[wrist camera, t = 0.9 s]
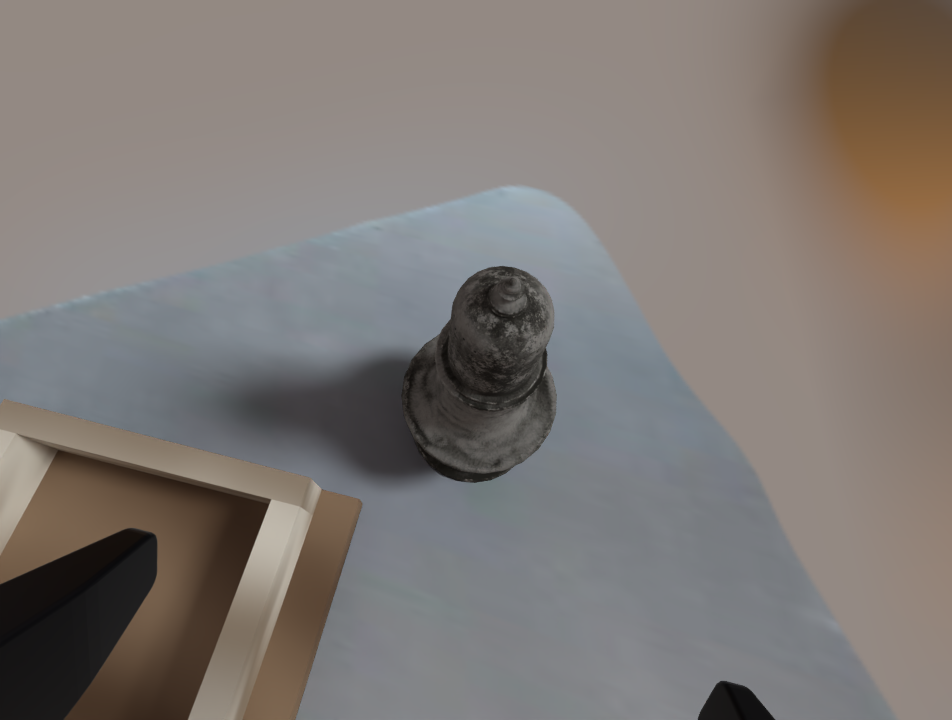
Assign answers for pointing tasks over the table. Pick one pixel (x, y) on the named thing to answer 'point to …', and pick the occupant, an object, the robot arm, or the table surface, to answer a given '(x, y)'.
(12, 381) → the table surface
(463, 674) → the table surface
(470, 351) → the salt shaker
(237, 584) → the board
